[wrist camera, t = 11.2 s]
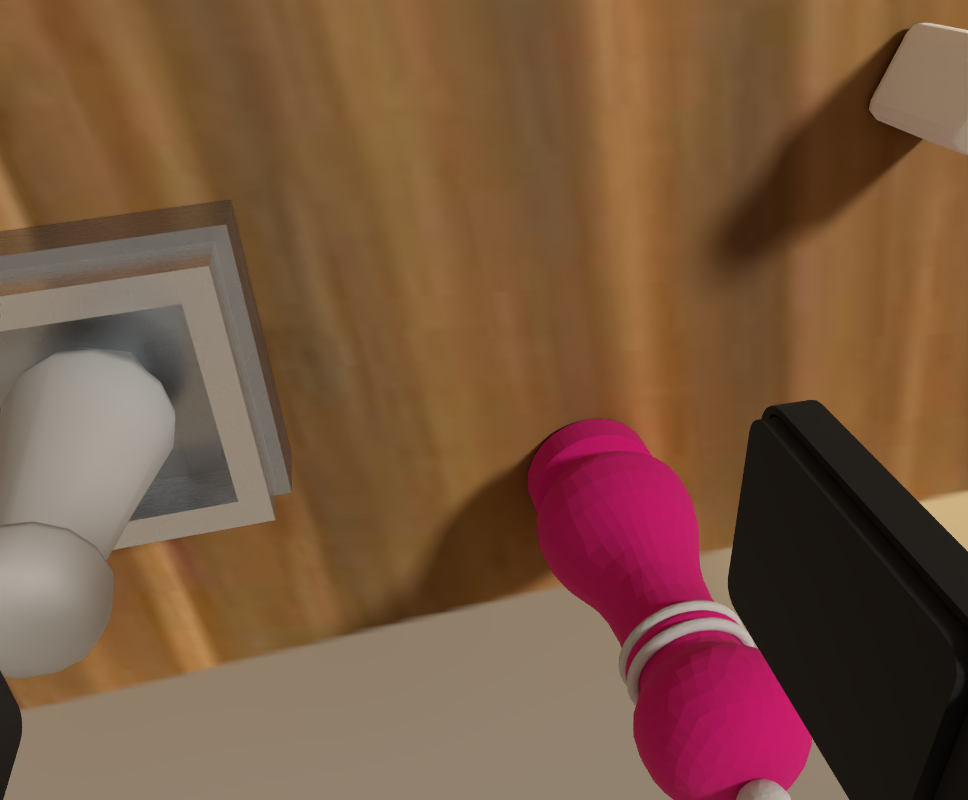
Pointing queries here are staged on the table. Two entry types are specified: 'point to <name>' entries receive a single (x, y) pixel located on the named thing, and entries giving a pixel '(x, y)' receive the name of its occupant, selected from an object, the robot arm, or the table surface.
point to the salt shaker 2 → (928, 86)
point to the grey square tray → (161, 350)
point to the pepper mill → (664, 618)
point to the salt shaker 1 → (71, 497)
